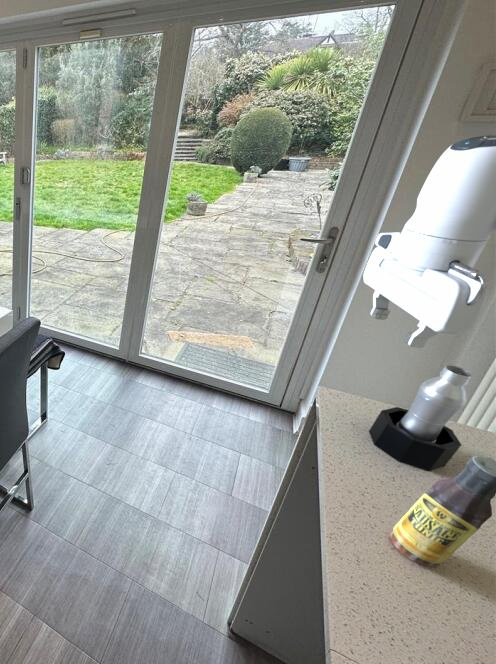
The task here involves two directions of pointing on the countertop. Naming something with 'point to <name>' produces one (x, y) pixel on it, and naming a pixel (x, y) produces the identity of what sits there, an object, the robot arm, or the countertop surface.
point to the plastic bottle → (436, 403)
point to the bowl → (412, 442)
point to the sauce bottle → (447, 514)
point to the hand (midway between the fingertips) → (394, 330)
